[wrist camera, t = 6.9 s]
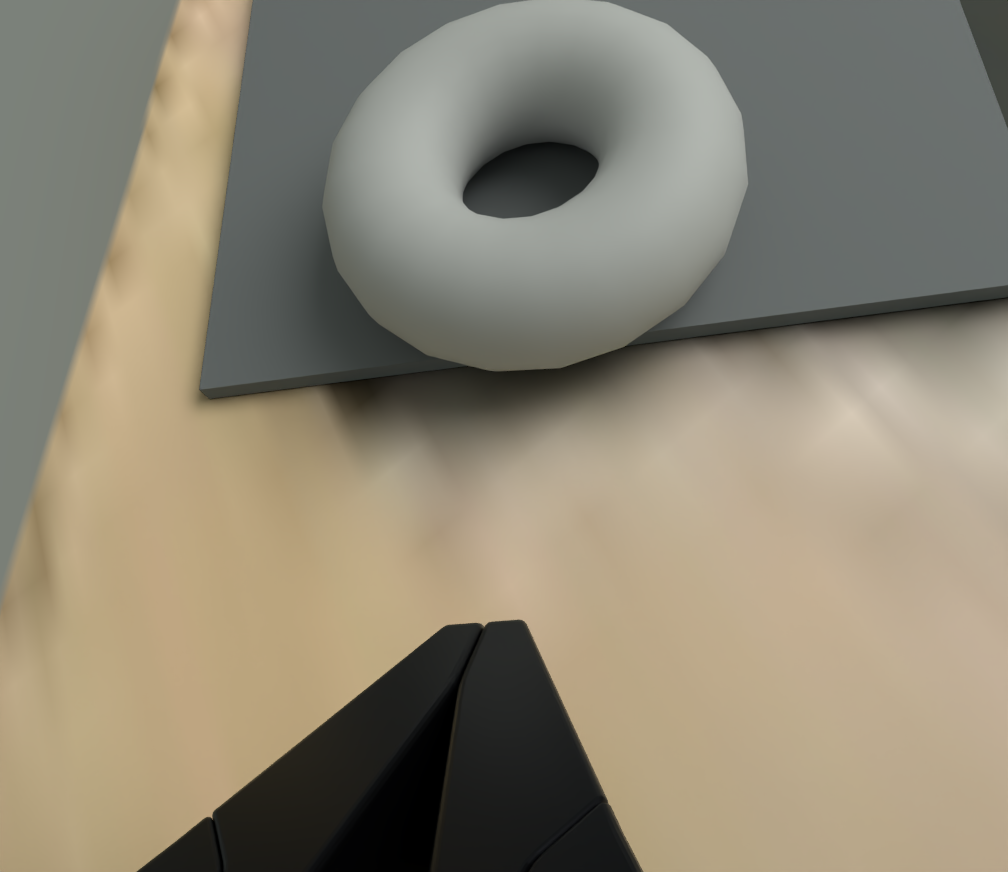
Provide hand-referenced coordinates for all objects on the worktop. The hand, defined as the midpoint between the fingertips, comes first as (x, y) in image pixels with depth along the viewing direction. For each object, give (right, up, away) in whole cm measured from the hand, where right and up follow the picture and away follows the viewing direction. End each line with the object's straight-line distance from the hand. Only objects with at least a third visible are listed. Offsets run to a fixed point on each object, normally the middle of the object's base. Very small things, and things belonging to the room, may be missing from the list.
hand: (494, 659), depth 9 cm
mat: (+2, +13, +16) cm, 21 cm away
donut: (+1, +4, +9) cm, 10 cm away
